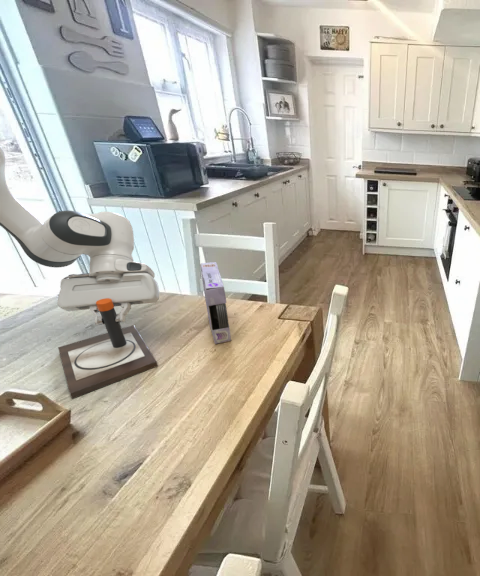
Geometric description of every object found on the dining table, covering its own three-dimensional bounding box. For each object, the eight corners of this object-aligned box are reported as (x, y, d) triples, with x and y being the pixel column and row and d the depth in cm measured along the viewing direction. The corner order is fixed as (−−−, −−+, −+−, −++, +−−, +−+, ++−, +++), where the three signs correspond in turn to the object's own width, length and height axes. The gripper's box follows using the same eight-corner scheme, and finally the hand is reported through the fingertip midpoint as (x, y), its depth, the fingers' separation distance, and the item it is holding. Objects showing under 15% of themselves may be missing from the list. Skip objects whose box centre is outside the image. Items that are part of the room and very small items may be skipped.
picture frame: (60, 352, 83) (57, 346, 82) (135, 329, 94) (133, 323, 93) (72, 398, 70) (69, 392, 69) (158, 366, 80) (156, 360, 80)
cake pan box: (234, 342, 91) (224, 286, 83) (214, 347, 88) (202, 289, 80) (225, 311, 105) (215, 260, 97) (207, 314, 103) (197, 263, 95)
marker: (110, 349, 82) (93, 304, 76) (114, 342, 85) (98, 299, 79) (125, 347, 83) (109, 303, 77) (128, 340, 86) (113, 297, 80)
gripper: (53, 270, 78) (48, 326, 74) (153, 263, 85) (153, 314, 81) (69, 279, 83) (65, 331, 80) (161, 272, 90) (161, 320, 86)
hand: (110, 322), depth 80 cm, fingers closed on marker, 3 cm apart
